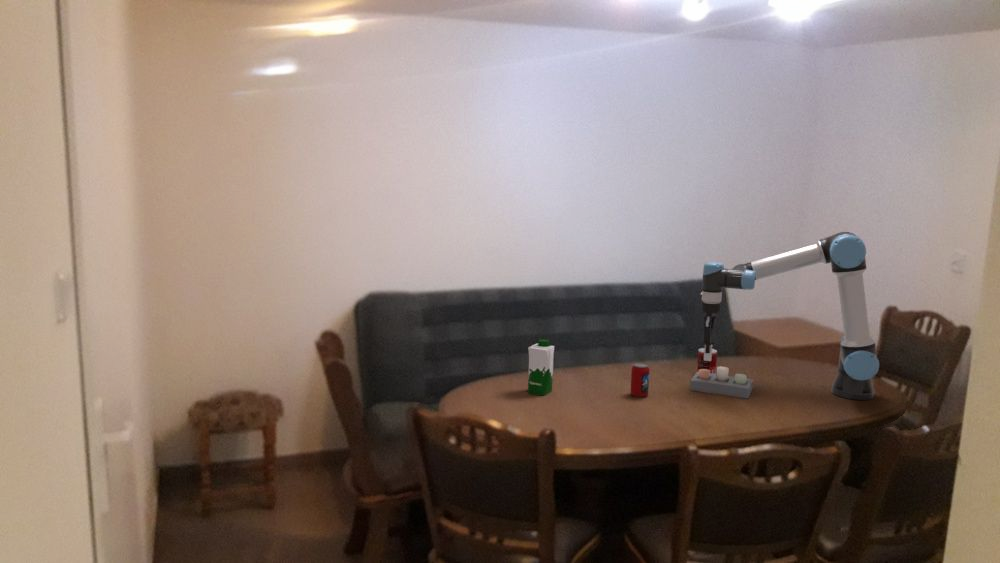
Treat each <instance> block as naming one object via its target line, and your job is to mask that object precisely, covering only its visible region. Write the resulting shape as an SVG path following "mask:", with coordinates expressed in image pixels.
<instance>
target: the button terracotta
mask: <svg viewBox="0 0 1000 563" xmlns="http://www.w3.org/2000/svg"><path fill="white" fill-rule="evenodd" d="M698 378H700V379H707V380H709V379H710V370H708V369H699V375H698Z"/></svg>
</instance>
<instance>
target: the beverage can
mask: <svg viewBox="0 0 1000 563" xmlns="http://www.w3.org/2000/svg"><path fill="white" fill-rule="evenodd" d="M650 371H651V370H650V368H649V364H647V363H642V362H635V363H633V366H632V367H631V376H630V377H631V378H630V394H631V395H632V396H633V395H634V397H636V398H645V397H646V396H648V395H649V386H650Z"/></svg>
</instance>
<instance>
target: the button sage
mask: <svg viewBox="0 0 1000 563" xmlns="http://www.w3.org/2000/svg"><path fill="white" fill-rule="evenodd" d="M734 377H735V382H734V383H736V384H743V385H746V381H747V375H746V374H744V373H735V375H734Z"/></svg>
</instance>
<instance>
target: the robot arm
mask: <svg viewBox="0 0 1000 563" xmlns="http://www.w3.org/2000/svg"><path fill="white" fill-rule="evenodd" d="M866 255H867V248H866V244H865V243H864V241H863V240H862V239H861V238H860V237H859V236H857V235H856V234H855V233H853V232H850V231H842V232H841V231H840V232H837V233H835V234H832V235H830V236H827V237H825V238H820V239H817V242H816V243H813V244H809V245H806V246H803V247H799V248H795V249H792V250H789V251H788V250H787V251H785V252H781V253H778V254H775V255H771V256H768V257H763V258H760V259H757V260H753V261H750V262H746V263H739V264H736V265H734V266H733V268H726V267H725V266H724V264H723V263H722V262H714V261H711V262H710V261H709V262H706V263H704V264H703V271H702V286H701V288H702V289H701V291H702V292H700V296H701V304H700V311H701V312H702V313H705V316H704V318H703V333H704V334H703V342H702V345H704V347H703V348H704V361H711V357H712V349H713V345H714V344H715V342H714V341H715V340H714V339H715V329H716V328H715V327H716V321H717V316H716V315H715V314H719V313H721V310H722V303H721V302H722V297H723V288H724V289H734V290H743V291H744V290H746V291H747V290H750V291H751V290H754V289H755V285H756V284H755V283H756V281H757V280H762V279H764V278H768V277H773V276H776V275H779V274H782V273H783V274H784V273H787V272H790V271H794V270H798V269H801V268H807V267H809V266H814V265H816V264H821V263H823V264H831V272H832V274H834V275H835V276H836V277H837V278H836V279H837V285H838V286H837V287H838V293H839V302H840V310H841V318H842V319H841V320H842V327H843V328H842V330H843V336H842V337H841V340H840V343H839V344H840V347H839V348H840V349H839V356H838V357H839V358H838V369H837V374H836V376H835V379H833V380H834V381H833V382H832V385H831V391H830V392H831V394H833V395H834V396H837V397H840V398H845V399H848V400H857V401H864V400H865V401H868V400H871V399H873V398H874V397H875V396H874V394H875V390H874V387H873V386H874V385H873V383H872V378H873V377H875V376H876V375H877V373H878V371H879V370H880V369H879V368H880V360H879V358H878V356H877V348H876V340H874V339H873V338H871V336H870V334H871V333H870V326H869V318H868V310H867V302H866V293H865V283H864V282H865V281H864V276H863V274H864V273H865V271H866V270H867V260H866Z"/></svg>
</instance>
